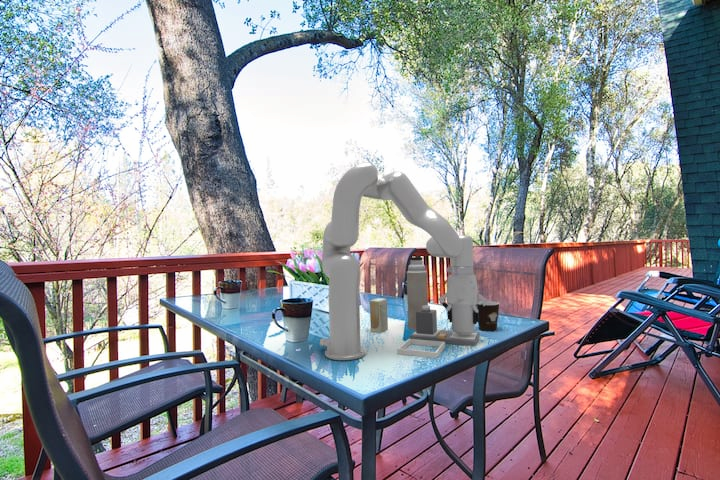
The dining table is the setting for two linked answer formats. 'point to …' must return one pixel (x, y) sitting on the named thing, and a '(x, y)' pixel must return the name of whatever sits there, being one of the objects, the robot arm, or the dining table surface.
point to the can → (462, 317)
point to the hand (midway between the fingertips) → (463, 322)
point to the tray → (417, 352)
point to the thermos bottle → (416, 289)
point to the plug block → (426, 320)
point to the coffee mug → (488, 316)
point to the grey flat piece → (449, 337)
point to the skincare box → (378, 315)
